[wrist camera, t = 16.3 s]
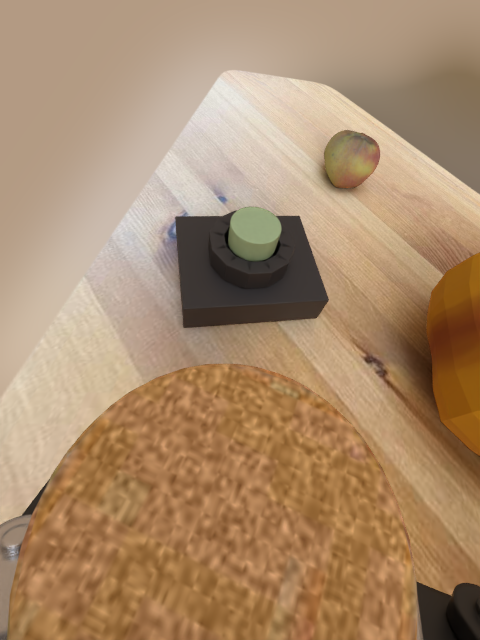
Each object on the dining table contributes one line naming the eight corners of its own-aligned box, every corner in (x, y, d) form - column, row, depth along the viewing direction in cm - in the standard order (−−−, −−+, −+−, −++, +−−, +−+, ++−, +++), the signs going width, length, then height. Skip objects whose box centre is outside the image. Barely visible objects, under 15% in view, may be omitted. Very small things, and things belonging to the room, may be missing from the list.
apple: (341, 209, 37) (365, 162, 32) (305, 168, 40) (322, 119, 35) (379, 199, 39) (407, 153, 33) (342, 160, 42) (363, 113, 37)
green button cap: (231, 262, 24) (234, 244, 23) (224, 226, 26) (227, 206, 24) (280, 261, 25) (286, 243, 23) (270, 225, 27) (275, 206, 25)
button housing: (183, 328, 26) (181, 294, 22) (176, 239, 31) (174, 197, 27) (316, 318, 28) (339, 286, 24) (291, 237, 33) (306, 198, 29)
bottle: (201, 431, 19) (219, 271, 6) (277, 507, 17) (531, 521, 4) (119, 518, 16) (-188, 582, 3) (200, 617, 14) (261, 1555, 2)
